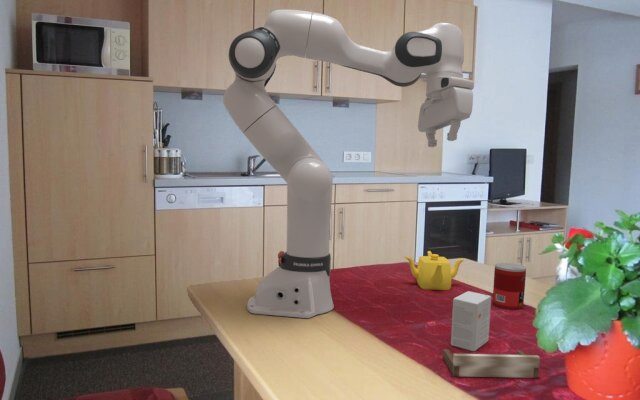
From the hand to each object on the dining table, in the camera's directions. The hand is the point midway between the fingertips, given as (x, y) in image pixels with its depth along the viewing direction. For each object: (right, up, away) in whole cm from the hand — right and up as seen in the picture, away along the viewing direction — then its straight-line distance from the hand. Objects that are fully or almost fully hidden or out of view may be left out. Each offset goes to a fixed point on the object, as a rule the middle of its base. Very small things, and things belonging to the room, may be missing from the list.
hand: (441, 143), depth 128 cm
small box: (+3, -46, -15) cm, 48 cm away
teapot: (+5, -41, +32) cm, 52 cm away
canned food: (+21, -43, +14) cm, 50 cm away
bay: (+3, -47, -27) cm, 54 cm away
